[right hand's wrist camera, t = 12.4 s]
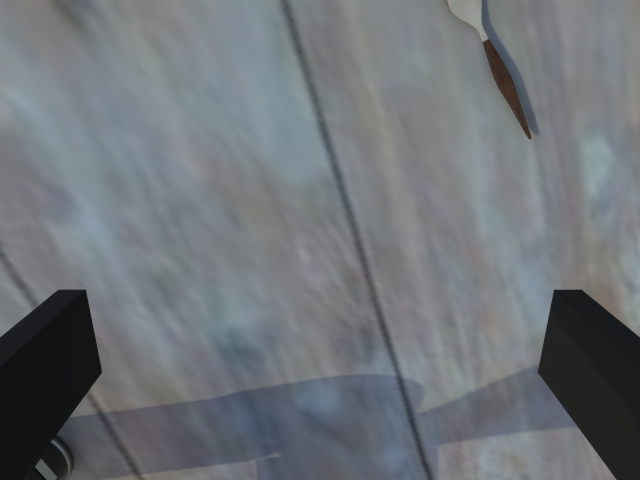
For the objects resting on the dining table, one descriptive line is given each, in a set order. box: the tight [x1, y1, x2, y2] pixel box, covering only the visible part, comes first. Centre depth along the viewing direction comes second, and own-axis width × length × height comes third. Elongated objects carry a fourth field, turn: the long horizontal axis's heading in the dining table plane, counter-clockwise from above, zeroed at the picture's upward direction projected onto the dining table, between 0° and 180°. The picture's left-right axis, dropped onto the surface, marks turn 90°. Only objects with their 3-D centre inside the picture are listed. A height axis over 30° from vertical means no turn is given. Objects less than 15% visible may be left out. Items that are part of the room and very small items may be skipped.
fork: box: [448, 0, 531, 139], centre depth 36 cm, size 3×16×2 cm, turn 32°
